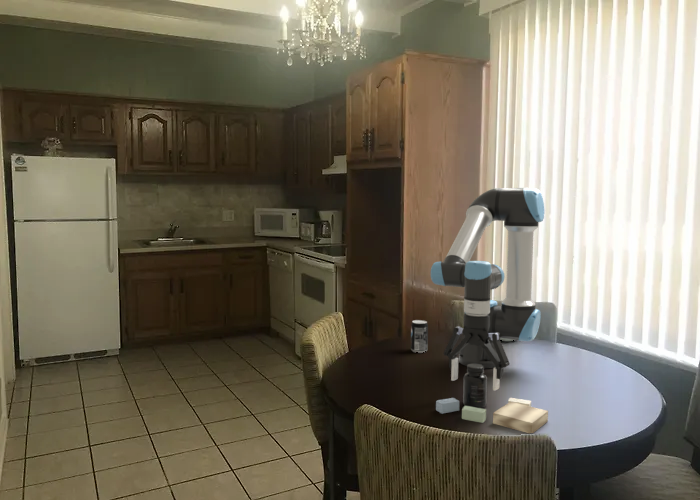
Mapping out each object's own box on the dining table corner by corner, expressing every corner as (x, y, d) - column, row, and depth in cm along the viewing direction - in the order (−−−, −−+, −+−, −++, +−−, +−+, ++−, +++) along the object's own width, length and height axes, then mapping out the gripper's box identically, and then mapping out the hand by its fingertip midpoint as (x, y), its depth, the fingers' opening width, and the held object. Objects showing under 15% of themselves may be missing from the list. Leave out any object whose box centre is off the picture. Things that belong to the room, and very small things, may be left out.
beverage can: (415, 348, 234) (416, 319, 233) (430, 350, 230) (430, 321, 229) (407, 351, 228) (408, 322, 227) (422, 354, 225) (422, 324, 223)
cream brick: (507, 410, 166) (508, 400, 166) (509, 407, 169) (510, 397, 169) (529, 414, 164) (529, 404, 163) (530, 410, 166) (531, 400, 166)
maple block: (492, 423, 157) (493, 412, 156) (510, 411, 165) (510, 401, 165) (531, 434, 150) (532, 423, 149) (547, 421, 158) (548, 410, 158)
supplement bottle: (460, 400, 174) (461, 362, 173) (482, 400, 174) (483, 361, 173) (466, 409, 167) (467, 369, 166) (489, 408, 168) (490, 368, 166)
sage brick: (461, 419, 160) (462, 409, 160) (465, 415, 163) (465, 405, 162) (483, 423, 157) (483, 413, 157) (485, 419, 160) (486, 409, 159)
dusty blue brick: (441, 414, 164) (441, 404, 163) (435, 410, 166) (436, 400, 166) (459, 411, 166) (459, 401, 166) (453, 407, 169) (453, 397, 169)
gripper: (433, 310, 173) (431, 378, 175) (511, 321, 157) (509, 396, 159) (446, 306, 179) (444, 373, 181) (522, 317, 163) (520, 390, 165)
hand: (474, 384), depth 170 cm, fingers open, 13 cm apart
